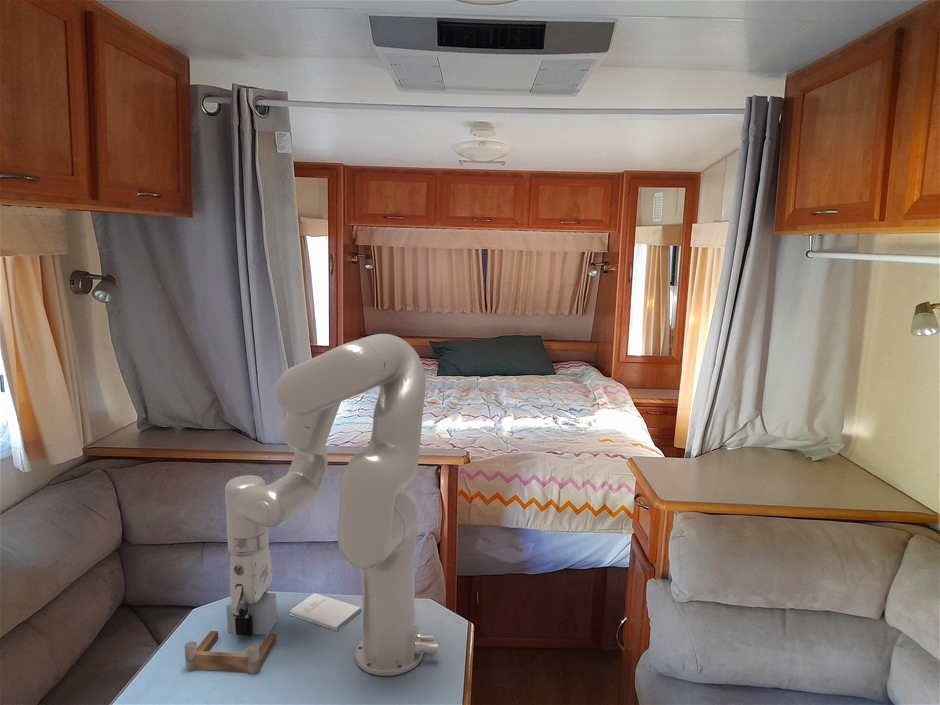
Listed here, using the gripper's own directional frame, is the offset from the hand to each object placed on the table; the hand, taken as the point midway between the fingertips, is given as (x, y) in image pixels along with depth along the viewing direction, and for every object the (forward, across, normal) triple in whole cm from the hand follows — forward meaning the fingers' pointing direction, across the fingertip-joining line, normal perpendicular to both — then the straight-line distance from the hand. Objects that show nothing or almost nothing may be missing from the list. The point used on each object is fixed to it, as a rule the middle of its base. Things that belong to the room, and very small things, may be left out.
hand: (252, 622), depth 132 cm
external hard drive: (+2, +6, -13) cm, 14 cm away
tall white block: (+1, 0, 0) cm, 1 cm away
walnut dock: (+1, -9, 0) cm, 9 cm away
